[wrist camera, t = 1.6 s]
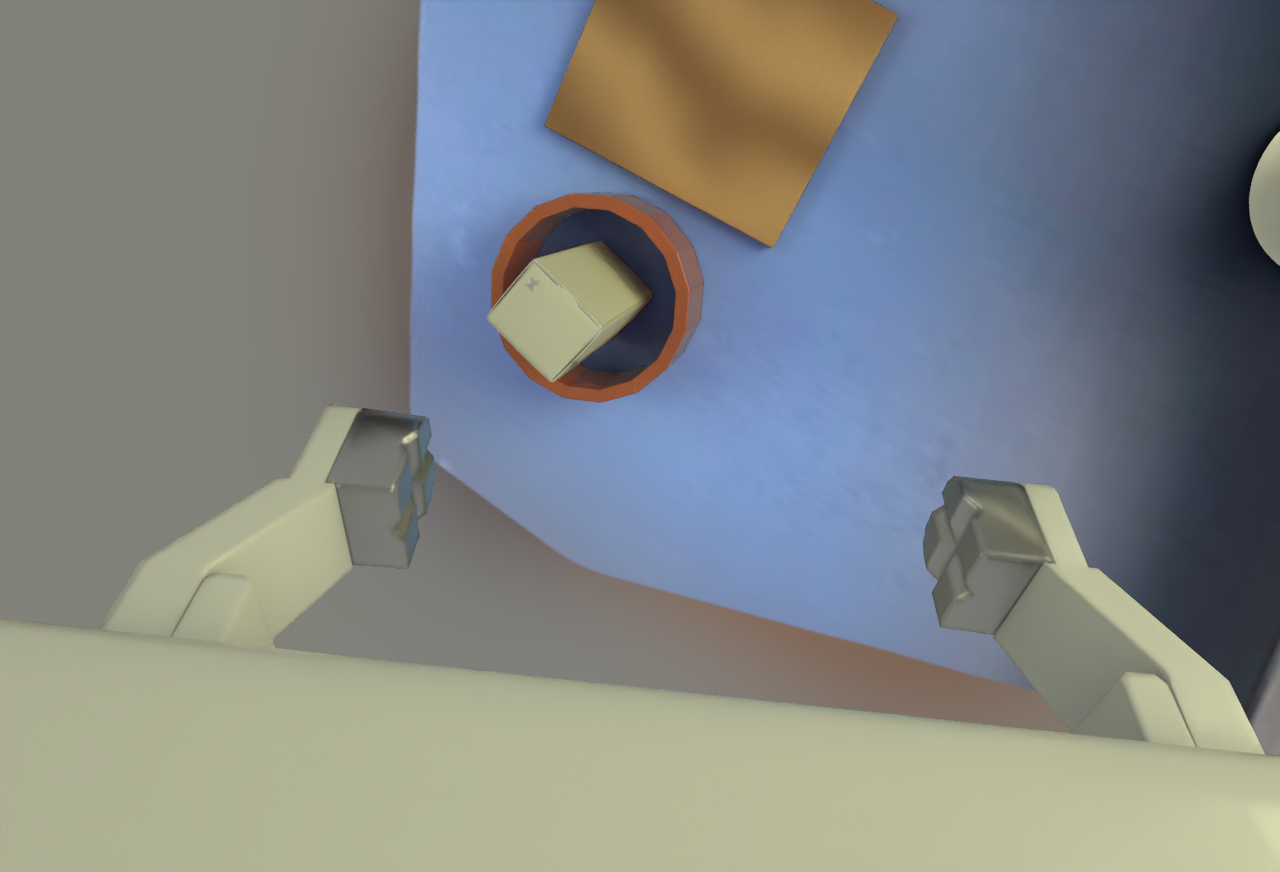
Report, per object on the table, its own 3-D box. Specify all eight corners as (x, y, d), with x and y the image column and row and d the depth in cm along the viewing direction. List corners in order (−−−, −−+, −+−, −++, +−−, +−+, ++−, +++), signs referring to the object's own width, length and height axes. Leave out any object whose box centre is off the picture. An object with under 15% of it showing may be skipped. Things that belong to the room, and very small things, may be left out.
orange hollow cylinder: (566, 158, 53) (538, 156, 48) (736, 250, 52) (725, 257, 48) (494, 328, 58) (462, 341, 53) (650, 415, 57) (631, 436, 52)
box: (559, 286, 56) (477, 314, 44) (602, 237, 54) (530, 252, 42) (616, 343, 56) (549, 387, 44) (661, 296, 54) (605, 328, 42)
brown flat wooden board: (645, -111, 48) (642, -116, 47) (898, 16, 47) (899, 14, 46) (547, 126, 53) (543, 125, 52) (773, 247, 52) (772, 248, 51)
